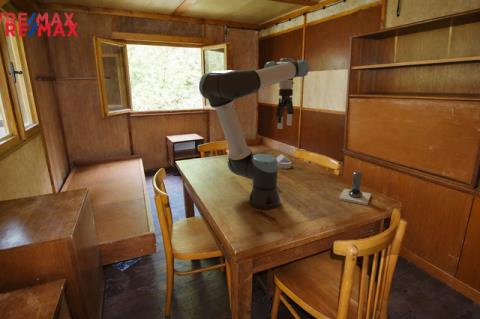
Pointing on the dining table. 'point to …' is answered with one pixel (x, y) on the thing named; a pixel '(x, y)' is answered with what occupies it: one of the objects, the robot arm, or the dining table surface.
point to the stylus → (356, 185)
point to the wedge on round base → (283, 162)
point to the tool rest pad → (362, 200)
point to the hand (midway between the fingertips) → (284, 127)
